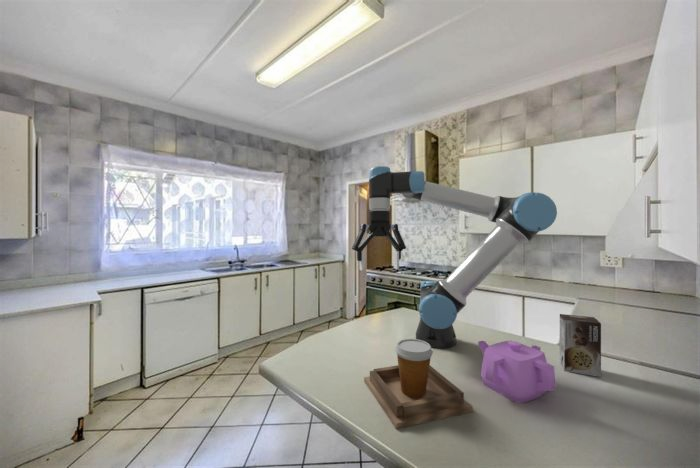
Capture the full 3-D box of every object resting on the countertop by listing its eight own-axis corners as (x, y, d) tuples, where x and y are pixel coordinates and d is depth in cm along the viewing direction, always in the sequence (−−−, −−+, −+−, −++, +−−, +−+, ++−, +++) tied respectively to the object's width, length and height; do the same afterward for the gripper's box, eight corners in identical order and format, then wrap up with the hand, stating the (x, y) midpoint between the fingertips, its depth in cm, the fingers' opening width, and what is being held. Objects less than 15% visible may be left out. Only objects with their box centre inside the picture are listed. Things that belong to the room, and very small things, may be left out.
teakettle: (485, 399, 73) (486, 351, 73) (476, 368, 89) (476, 329, 89) (563, 411, 68) (564, 360, 68) (538, 376, 84) (539, 334, 84)
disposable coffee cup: (434, 404, 69) (434, 354, 68) (394, 399, 71) (394, 351, 70) (430, 383, 78) (431, 339, 78) (395, 379, 80) (395, 336, 80)
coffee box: (593, 368, 89) (594, 316, 89) (601, 377, 83) (602, 323, 83) (558, 362, 93) (559, 313, 93) (563, 371, 87) (564, 318, 87)
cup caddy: (425, 371, 87) (425, 359, 87) (472, 411, 68) (472, 396, 68) (364, 381, 81) (364, 368, 81) (396, 428, 62) (396, 412, 62)
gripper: (405, 211, 110) (404, 266, 110) (343, 210, 102) (343, 269, 103) (415, 210, 103) (415, 269, 103) (349, 209, 95) (349, 272, 95)
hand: (379, 269), depth 103 cm, fingers open, 13 cm apart
